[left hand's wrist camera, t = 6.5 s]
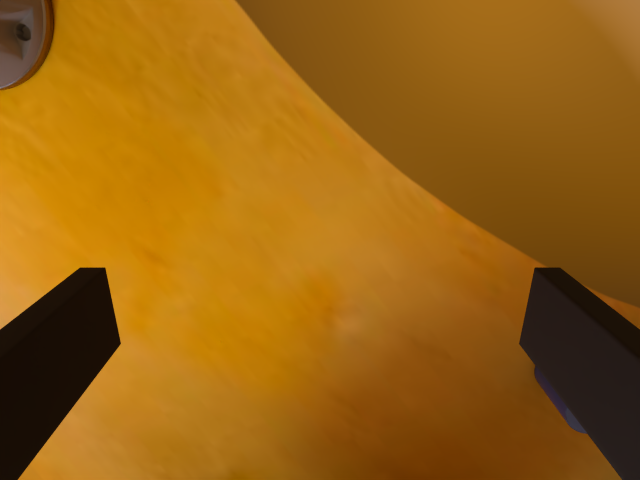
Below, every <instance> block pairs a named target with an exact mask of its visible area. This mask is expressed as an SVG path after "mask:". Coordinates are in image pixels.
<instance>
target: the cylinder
mask: <svg viewBox="0 0 640 480" xmlns="http://www.w3.org/2000/svg"><path fill="white" fill-rule="evenodd" d="M535 378H536V380H537V382H538V383H539V384H540V386H541V387H542V389H543V390H544V391H545V393H546V394H547V395H548V397H549V398H550V400H551V401H552V402H553V404H554V405H555V407H556V408H557V409H558V411H559V412H560V413H561V415H562V416H563V418H564V419H565V420H566V422H567V423H568V424H569V426H570V427H571V428H573V429H574V430H576V431H578V432H581V433H586V434H587V432H586V431H585V430H584V428H583V427H582V426H581V425H580V423H579V422H578V421H577V419H576V418H575V417H574V415H573V414H572V413H571V411H570V410H569V409H568V407H567V406H566V405H565V403H564V402H563V401H562V400H561V398H560V397H559V396H558V394H557V393H556V392H555V390H554V389H553V388H552V386H551V385H550V384H549V382H548V381H547V380H546V378H545V377H544V376H543V374H542V373H541V372H540V371H539V369H538V368H537V367H536V366H535Z"/></svg>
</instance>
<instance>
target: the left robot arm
mask: <svg viewBox="0 0 640 480" xmlns="http://www.w3.org/2000/svg"><path fill="white" fill-rule="evenodd" d="M52 35H53V11H52V4H51V0H0V90H5V89H10V88H13V87H15V86H18V85H20V84H22V83H24V82H25V81H27V80H28V79H29V78H31V77H32V76H33V75H34V74H35V73H36V72H37V71H38V69H39V68H40V67H41V65H42V64H43V62H44V60H45V58H46V56H47V54H48V52H49V49H50V45H51V41H52ZM120 344H121V342H120V337H119V333H118V328H117V323H116V318H115V313H114V308H113V303H112V298H111V294H110V289H109V284H108V279H107V274H106V269H105V268H79V269H78V270H76V271H75V272H74V273H73V274H71V275H70V276H69V277H67V278H66V279H65V280H64V281H62V282H61V283H60V284H58V285H57V286H56V287H55V288H53V289H52V290H51V291H49V292H48V293H47V294H46V295H44V296H43V297H42V298H40V299H39V300H38V301H37V302H35V303H34V304H33V305H31V306H30V307H29V308H28V309H26V310H25V311H24V312H22V313H21V314H20V315H19V316H17V317H16V318H15V319H13V320H12V321H11V322H9V323H8V324H7V325H6V326H4V327H3V328H2V329H0V480H18V479H19V477H20V476H21V475H22V473H23V472H24V471H25V469H26V468H27V467H28V465H29V464H30V463H31V461H32V460H33V459H34V457H35V456H36V455H37V453H38V452H39V451H40V450H41V448H42V447H43V446H44V444H45V443H46V442H47V440H48V439H49V438H50V436H51V435H52V434H53V432H54V431H55V430H56V428H57V427H58V426H59V425H60V423H61V422H62V421H63V419H64V418H65V417H66V415H67V414H68V413H69V411H70V410H71V409H72V407H73V406H74V405H75V403H76V402H77V401H78V400H79V398H80V397H81V396H82V394H83V393H84V392H85V390H86V389H87V388H88V386H89V385H90V384H91V382H92V381H93V380H94V378H95V377H96V376H97V374H98V373H99V372H100V371H101V369H102V368H103V367H104V365H105V364H106V363H107V361H108V360H109V359H110V357H111V356H112V355H113V353H114V352H115V351H116V349H117V348H118V347H119V346H120ZM519 344H520V346H521V347H522V348H523V349H524V351H525V352H526V353H527V355H528V356H529V357H530V359H531V360H532V361H533V363H534V364H535V365H536V367H537V368H538V369H539V371H540V372H541V373H542V374H543V376H544V377H545V378H546V380H547V381H548V382H549V384H550V385H551V386H552V388H553V389H554V390H555V392H556V393H557V394H558V396H559V397H560V398H561V400H562V401H563V402H564V403H565V405H566V406H567V407H568V409H569V410H570V411H571V413H572V414H573V415H574V417H575V418H576V419H577V421H578V422H579V423H580V425H581V426H582V427H583V428H584V430H585V431H586V432H587V434H588V435H589V436H590V438H591V439H592V440H593V442H594V443H595V444H596V446H597V447H598V448H599V450H600V451H601V452H602V453H603V455H604V456H605V457H606V459H607V460H608V461H609V463H610V464H611V465H612V467H613V468H614V469H615V471H616V472H617V473H618V475H619V476H620V477H621V479H622V480H640V329H638V328H637V327H636V326H634V325H633V324H632V323H631V322H629V321H628V320H627V319H625V318H624V317H623V316H621V315H620V314H619V313H618V312H616V311H615V310H614V309H612V308H611V307H610V306H609V305H607V304H606V303H605V302H603V301H602V300H601V299H600V298H598V297H597V296H596V295H594V294H593V293H592V292H591V291H589V290H588V289H587V288H585V287H584V286H583V285H582V284H580V283H579V282H578V281H576V280H575V279H574V278H573V277H571V276H570V275H569V274H567V273H566V272H565V271H564V270H562V269H561V268H535V269H534V274H533V279H532V284H531V289H530V294H529V298H528V303H527V308H526V313H525V318H524V323H523V328H522V333H521V337H520V342H519Z"/></svg>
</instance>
